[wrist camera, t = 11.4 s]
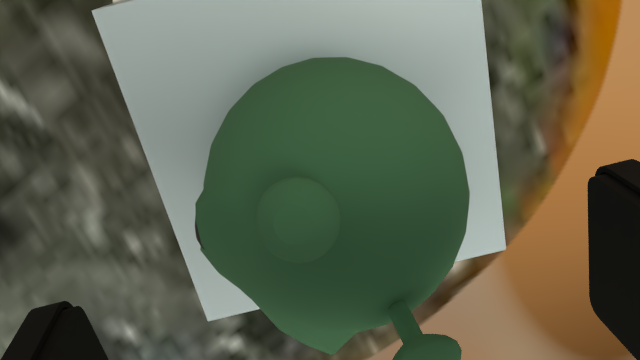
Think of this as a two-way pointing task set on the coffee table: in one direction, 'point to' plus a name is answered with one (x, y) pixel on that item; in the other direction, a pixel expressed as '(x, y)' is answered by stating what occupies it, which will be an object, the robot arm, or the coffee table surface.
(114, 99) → the coffee table surface
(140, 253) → the coffee table surface
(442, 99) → the brick tower
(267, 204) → the alien toy
